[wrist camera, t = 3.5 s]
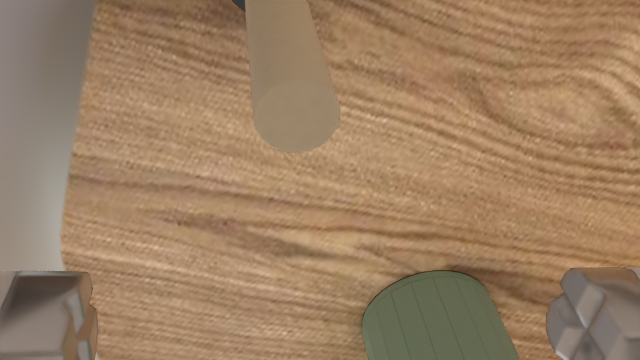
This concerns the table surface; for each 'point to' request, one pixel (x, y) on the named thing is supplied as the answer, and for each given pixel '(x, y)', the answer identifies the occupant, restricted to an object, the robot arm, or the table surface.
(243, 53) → the table surface
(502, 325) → the jar
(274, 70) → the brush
